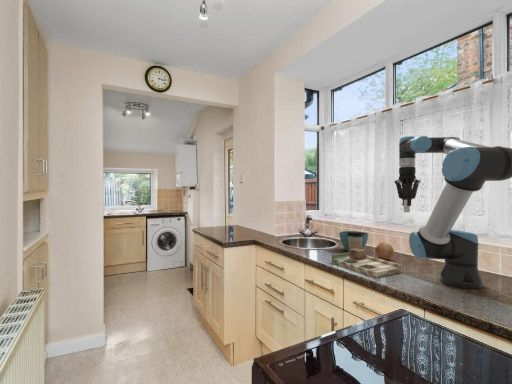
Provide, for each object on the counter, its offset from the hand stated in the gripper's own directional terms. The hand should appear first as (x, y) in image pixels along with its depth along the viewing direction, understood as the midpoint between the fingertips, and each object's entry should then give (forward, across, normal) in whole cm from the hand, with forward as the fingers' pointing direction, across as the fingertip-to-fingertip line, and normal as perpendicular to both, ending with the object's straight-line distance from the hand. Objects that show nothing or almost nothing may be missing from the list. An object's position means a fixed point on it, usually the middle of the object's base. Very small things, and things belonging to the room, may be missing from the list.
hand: (406, 212), depth 142 cm
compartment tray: (+29, -11, -18) cm, 36 cm away
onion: (+30, -17, +6) cm, 35 cm away
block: (+27, -19, -14) cm, 36 cm away
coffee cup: (+30, -30, -4) cm, 42 cm away
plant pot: (+30, -41, +7) cm, 51 cm away
